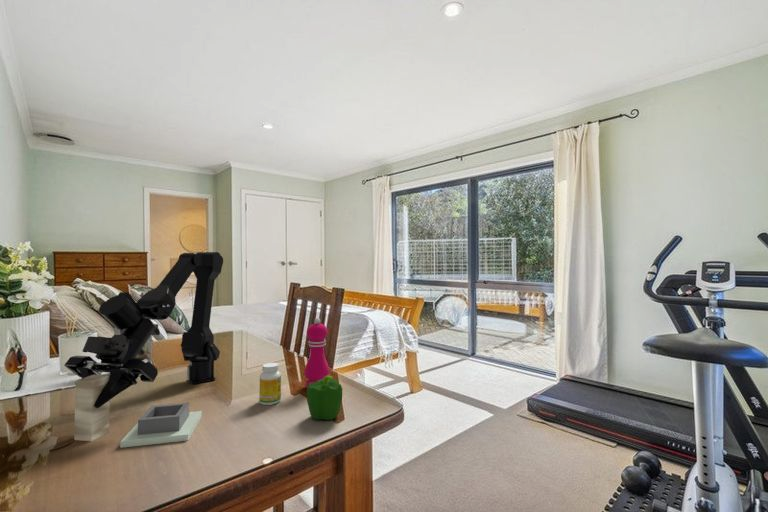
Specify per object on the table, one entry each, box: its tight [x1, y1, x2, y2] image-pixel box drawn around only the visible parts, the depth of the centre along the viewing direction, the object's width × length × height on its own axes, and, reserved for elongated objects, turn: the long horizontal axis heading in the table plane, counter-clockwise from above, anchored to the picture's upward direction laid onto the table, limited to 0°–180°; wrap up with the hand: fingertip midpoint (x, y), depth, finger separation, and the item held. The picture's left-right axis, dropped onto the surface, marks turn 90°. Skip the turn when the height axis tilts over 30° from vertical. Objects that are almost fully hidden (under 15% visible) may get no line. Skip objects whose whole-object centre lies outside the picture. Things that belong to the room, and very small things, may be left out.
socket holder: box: [119, 402, 203, 449], centre depth 78 cm, size 12×12×4 cm
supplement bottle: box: [258, 362, 282, 406], centre depth 95 cm, size 5×5×10 cm
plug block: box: [73, 374, 111, 442], centre depth 76 cm, size 4×4×12 cm
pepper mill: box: [303, 317, 330, 389], centre depth 106 cm, size 7×7×20 cm
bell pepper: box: [306, 374, 343, 421], centre depth 86 cm, size 8×8×10 cm
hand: (86, 406), depth 74 cm, fingers closed on plug block, 4 cm apart
